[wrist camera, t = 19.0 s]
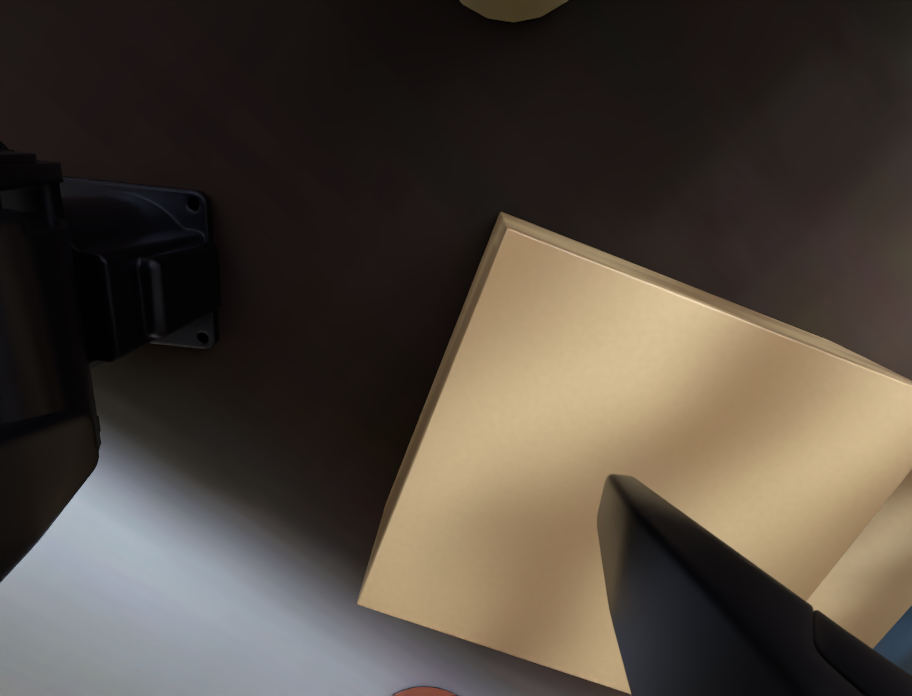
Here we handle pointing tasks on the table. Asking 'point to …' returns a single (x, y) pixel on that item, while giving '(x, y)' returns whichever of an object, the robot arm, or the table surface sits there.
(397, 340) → the table surface
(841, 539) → the cabinet
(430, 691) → the cup
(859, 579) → the drawer
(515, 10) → the cork
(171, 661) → the table surface
